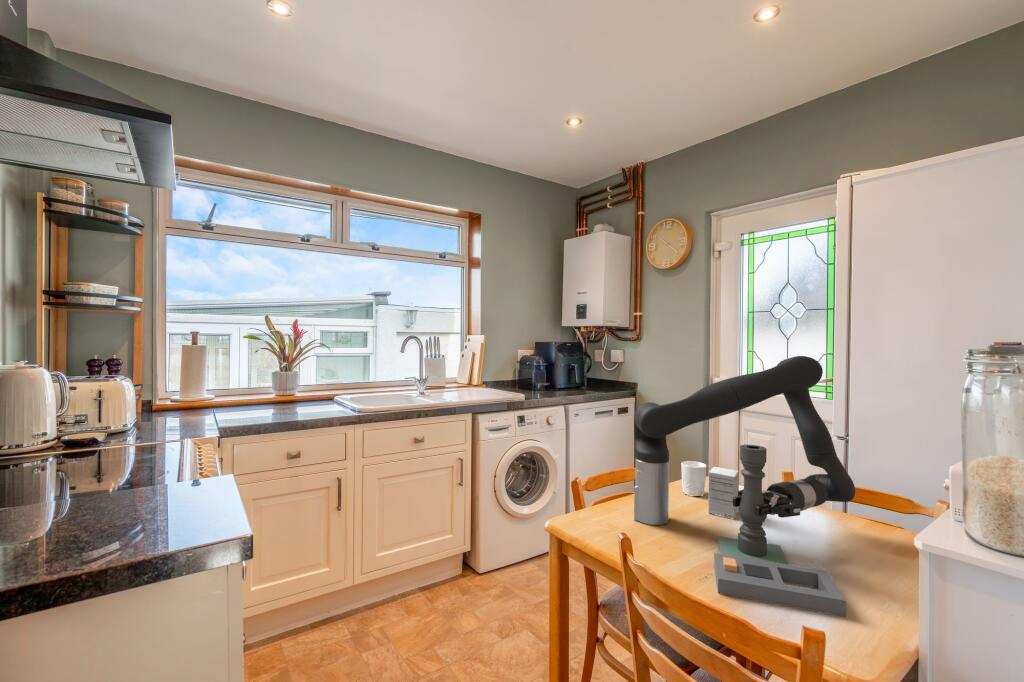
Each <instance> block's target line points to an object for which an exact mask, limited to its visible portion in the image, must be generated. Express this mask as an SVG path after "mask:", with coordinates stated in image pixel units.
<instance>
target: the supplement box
mask: <svg viewBox="0 0 1024 682" xmlns="http://www.w3.org/2000/svg"><path fill="white" fill-rule="evenodd" d="M739 486H740V471H739V470H736V469H731V468H724V467H718V466H713V467H712V468H711V469H710V470H709V471H708V497H707V498H708V502H707V503H708V511H707V512H708V514H709V513H712V514H717V515H721V516H725V517H730V518H735V519H736V518H737V516H738V515H739V514H738V513H739V507H735V506H733V497H737V496H738V491H740V487H739ZM712 514H711V515H712ZM721 516H720V517H721ZM725 517H724V518H725ZM730 518H729V519H730Z"/></svg>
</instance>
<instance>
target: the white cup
mask: <svg viewBox="0 0 1024 682" xmlns="http://www.w3.org/2000/svg"><path fill="white" fill-rule="evenodd" d="M680 465H681V466H680V467H681V470H680V471H681V486H682V493H683V492H684V493H685V494H688V495H693V496H702V495H704V496H705V487H706V478H707V464H706V463H703V462H700V461H695V460H693V461H692V460H684V461H681V464H680ZM684 493H683V494H684ZM685 494H684V495H685ZM688 495H687V496H688ZM702 497H703V496H702Z"/></svg>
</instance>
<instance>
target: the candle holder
mask: <svg viewBox="0 0 1024 682" xmlns="http://www.w3.org/2000/svg"><path fill="white" fill-rule="evenodd" d="M767 450H768V449H767V447H765V446H761V445H755V444H741V445H740V446H739V461H740V463H741V464H742V467H743V469H741V470H740V473H741V475H742V476H743V489H744V490H743V489H742V490H743V494H742V497H741V501H740V505H739V512H738V513H739V514H738V515H739V516H740V518H741V519H742V520H741V521H742V524H741V526H739V532H738V533H737V539H738V549H739V550H740V551H741V552H742V553H744V554H747V555H750V556H755V557H762V556H766V554H767V544H768V539H767V537H766V535H767V533H766V530H764V527H763V525H764V524H763V523H764V522H765V521H766V519H767V517H768V515H764V516H757V515H756V507H757V506H759V505H764V504H765V503H764V499H763V495H762V491H763V479H764V478H766V473H765V472H764V471H763V469H764V467H765V466H766V463H767V454H768V453H767Z"/></svg>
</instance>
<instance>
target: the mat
mask: <svg viewBox="0 0 1024 682" xmlns="http://www.w3.org/2000/svg"><path fill="white" fill-rule="evenodd" d="M717 541H718V546H719V552H720V554H725V555H731V556H738V557H744V558H750V559H757V560H763V561H769V562H776V563H782V564H788V565H790V563H789V561H788V560H787V557H786V555H785V552H784V551H783V549H782V547H781V545H779V544H772V543H767V554H766V556H762V557H755V556H750V555H747V554H744V553H742V552H741V551H740V550H739V549H738V538H732V537H724V536H717Z"/></svg>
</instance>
